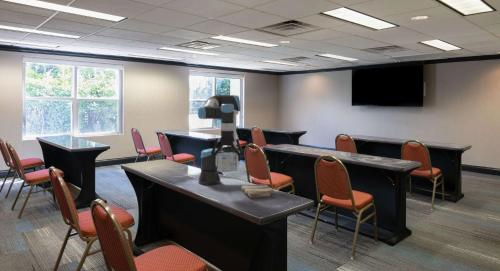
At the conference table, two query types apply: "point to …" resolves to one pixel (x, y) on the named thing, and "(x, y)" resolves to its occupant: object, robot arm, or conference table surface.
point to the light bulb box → (226, 162)
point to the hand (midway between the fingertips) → (227, 166)
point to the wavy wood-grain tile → (257, 190)
